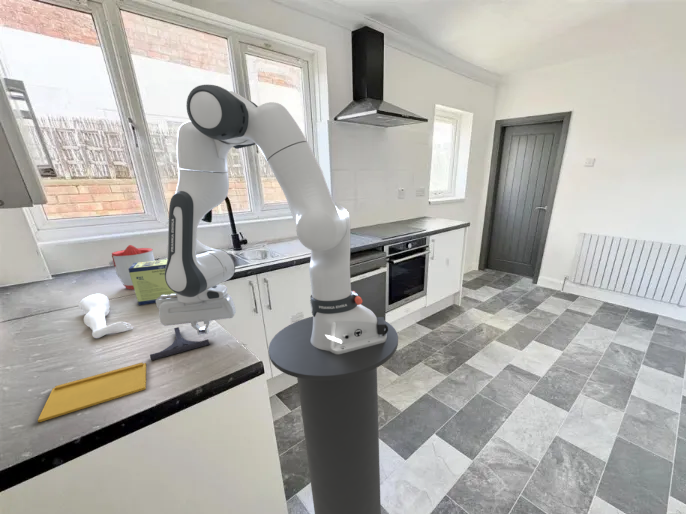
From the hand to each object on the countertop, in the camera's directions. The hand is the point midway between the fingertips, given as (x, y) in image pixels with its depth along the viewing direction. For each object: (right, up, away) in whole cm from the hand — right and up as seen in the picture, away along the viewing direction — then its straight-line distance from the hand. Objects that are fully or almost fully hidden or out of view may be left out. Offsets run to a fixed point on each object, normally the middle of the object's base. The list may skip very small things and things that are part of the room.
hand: (203, 333), depth 97 cm
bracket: (-6, -3, -2) cm, 7 cm away
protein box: (-38, +10, +35) cm, 53 cm away
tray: (-11, -10, -23) cm, 28 cm away
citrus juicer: (-60, +15, +51) cm, 80 cm away
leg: (-44, +2, +14) cm, 47 cm away
